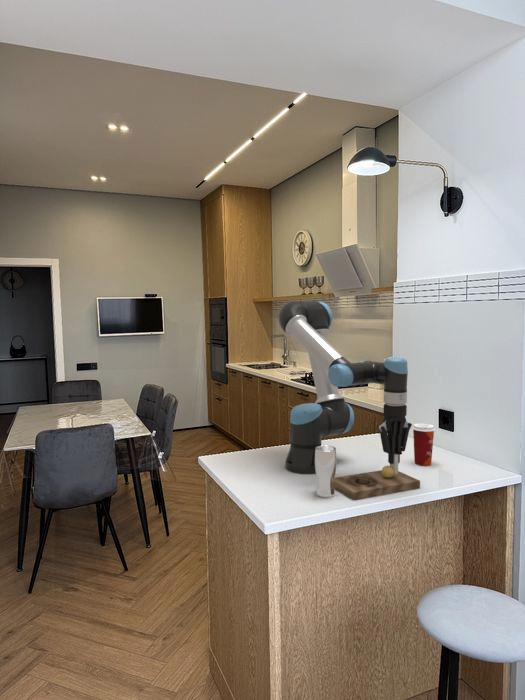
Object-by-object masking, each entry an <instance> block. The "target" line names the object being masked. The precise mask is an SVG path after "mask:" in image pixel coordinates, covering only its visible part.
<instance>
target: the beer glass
mask: <svg viewBox="0 0 525 700" xmlns="http://www.w3.org/2000/svg"><path fill="white" fill-rule="evenodd" d="M337 460H338V459H337V448H336V447H335V446H333V445H325V444H324V445H323V444H322V445H321V446H317V447H316V448H315V471H316V473H315V477H316V489H315V495H316V496H317V497H320V498H325V499H327V498H332V497H334V496H336V495H335V494H336V492H335V489H334V478H336V477H335V476H336V470H337Z"/></svg>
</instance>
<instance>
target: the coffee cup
mask: <svg viewBox="0 0 525 700" xmlns="http://www.w3.org/2000/svg"><path fill="white" fill-rule="evenodd" d="M412 430H413V455H414V464H415V465H417V466H419V467H430V466H431V465H432V461H433V460H432V458H433V446H434V434H435V431H436V428H435V426H434V425H433V424H430V423H423V422H420V423H419V422H418V423H414V424H413V426H412Z"/></svg>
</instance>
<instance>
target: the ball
mask: <svg viewBox="0 0 525 700" xmlns="http://www.w3.org/2000/svg"><path fill="white" fill-rule="evenodd" d="M381 470H382V474H383V476H384V477H386V478H390V477H392V476H393V474H394V470H393V468H392V467H391V466H390V465H385V466H383V467H382V468H381Z"/></svg>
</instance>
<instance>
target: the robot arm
mask: <svg viewBox="0 0 525 700" xmlns="http://www.w3.org/2000/svg"><path fill="white" fill-rule="evenodd" d="M278 312H279V313H278V316H277V318H278V323H279V326H280V328H281V330H283V332H284V333H285V334H286V335H287V336H288V337H290V338H293V339H294V340H296V341H297V342H298V343H299V344H300V345H301V346H302V347H303V348H304V349H305V350H306V351H307V353H308V357H309V361H310V362H309V363H310V369H311V372H312V376H313V377H312V378H313V382H314V386H315V387H314V388H315V391H316V392H315V393H316V397H317V398H316V401H315V402H311V403H301V404H298V405H295V406H294V407H293V408H292V409H291V410H290V418H289V423H290V425H289V426H290V429H289V430H290V431H289V432H290V435H289V436H290V437H289V438H290V439H289V440H290V441H289V442H290V443H289V444H290V445H289V450H288V452H287V455H286V459H285V469H286V468H287V469H286V470H288V471H289V470H290V471H289V472H292V473H297V474H309V475H310V474H316V471H315V448H316V447H317V446H322V442H323V441H322V438H327V437H332V436H339V435H342V434H345V433H347V432H349V431H350V430H351V429H352V426H353V425H354V423H355V422H354V421H355V413H354V410H353V407H352V406H351V404H349V403H347V402H346V401H345V397H344V396H342V395H341V394H340V391H339V387H341V388H342V387H343V388H345V387H351V386H358V385H367V384H376V385H377V384H378V385H383V402H384V404H383V410H382V411H383V412H382V413H383V417H384V418H383V423H382V424H378V425H377V427H376V428H377V430H378V432H379V435H380V440H381V447H382V451H383V452H384V453H386V454H388V456H387V457H388V459H387V463H388V464H389V466H391V467H392V468H393V470H394V474H398V471H399V463H400V461H401V460H400V459H401V458H400V457H401V456H402V455H403V452H405V451H406V448H407V442H408V439H409V432H410V430H411V427H413V426H412V425H413V424H412V423H411V422H408V421H407V419H406V417H407V414H408V413H407V411H408V410H407V409H408V407H407V405H406V404H408V399H407V398H408V388H407V387H408V376H409V375H408V373H409V370H408V360H407V359H406V358H404V357H386V358H385V359H384V362H380V361H373V360H361V361H359V362H350V361H349V360H348V359H347V358H346V357H344V355H343V354H342V353H340V352H339V350H337V349H336V348H335V347H334V346H333V345H332V344H331V343H330V342H329V340H328V334H329V333H330V327H331V326H332V323H333V322H332V321H333V317H334V316H333V312H332V310H331V307H329V305H328V304H327V303H325V302H323V301H319V300H318V301H317V300H311V301H310V300H293V301H292V300H291V301H288V302H285V304H283V305H282V307H281V308H280V310H279V311H278ZM400 455H401V456H400Z"/></svg>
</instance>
